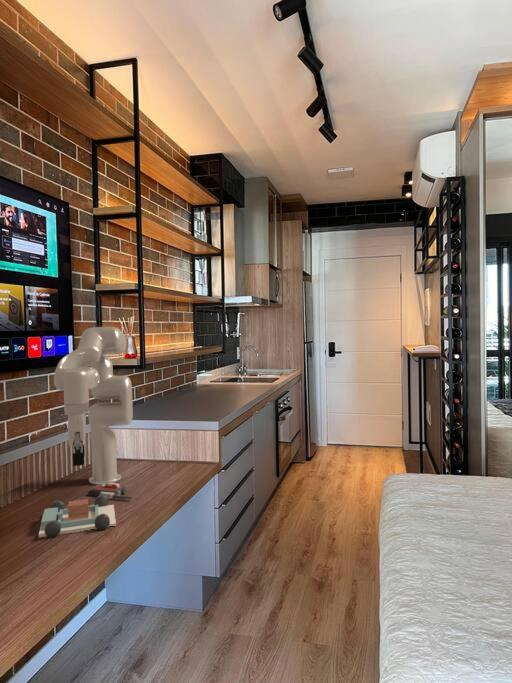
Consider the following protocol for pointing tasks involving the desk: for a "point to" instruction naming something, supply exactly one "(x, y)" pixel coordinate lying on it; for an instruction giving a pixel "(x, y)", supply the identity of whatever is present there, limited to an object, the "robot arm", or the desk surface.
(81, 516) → the orange-brown block
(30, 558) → the desk surface
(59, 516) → the chassis
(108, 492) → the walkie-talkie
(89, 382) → the robot arm
